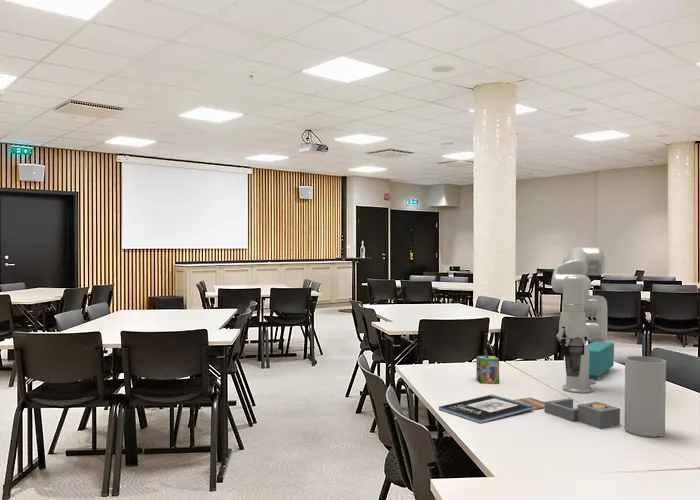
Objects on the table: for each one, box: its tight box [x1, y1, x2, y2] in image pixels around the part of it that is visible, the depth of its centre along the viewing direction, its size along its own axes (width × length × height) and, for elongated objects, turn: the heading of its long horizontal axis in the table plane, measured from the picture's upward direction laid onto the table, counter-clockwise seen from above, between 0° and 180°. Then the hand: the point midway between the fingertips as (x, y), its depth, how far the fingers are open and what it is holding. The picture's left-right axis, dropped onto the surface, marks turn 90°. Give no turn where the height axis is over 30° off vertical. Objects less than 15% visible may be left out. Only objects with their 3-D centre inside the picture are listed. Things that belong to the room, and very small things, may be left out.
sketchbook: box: [438, 393, 533, 424], centre depth 226 cm, size 22×30×2 cm
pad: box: [511, 397, 546, 412], centre depth 236 cm, size 14×14×1 cm
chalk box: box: [475, 349, 500, 384], centre depth 277 cm, size 9×9×15 cm
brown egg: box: [593, 404, 605, 409], centre depth 211 cm, size 4×4×4 cm
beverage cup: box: [564, 337, 583, 377], centre depth 222 cm, size 7×7×20 cm
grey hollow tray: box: [544, 398, 621, 430], centre depth 217 cm, size 13×24×6 cm, turn 27°
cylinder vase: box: [623, 355, 667, 437], centre depth 201 cm, size 12×12×25 cm
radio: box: [585, 341, 615, 380], centre depth 296 cm, size 34×10×15 cm, turn 144°
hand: (572, 354), depth 222 cm, fingers closed on beverage cup, 7 cm apart
